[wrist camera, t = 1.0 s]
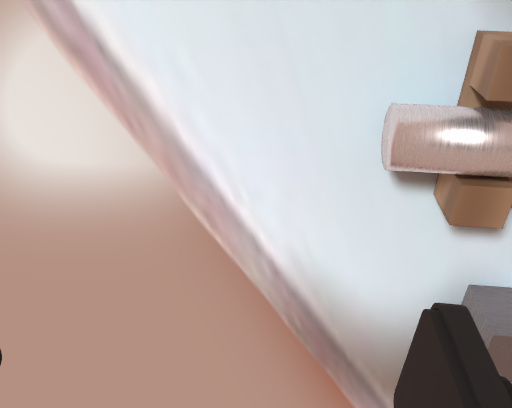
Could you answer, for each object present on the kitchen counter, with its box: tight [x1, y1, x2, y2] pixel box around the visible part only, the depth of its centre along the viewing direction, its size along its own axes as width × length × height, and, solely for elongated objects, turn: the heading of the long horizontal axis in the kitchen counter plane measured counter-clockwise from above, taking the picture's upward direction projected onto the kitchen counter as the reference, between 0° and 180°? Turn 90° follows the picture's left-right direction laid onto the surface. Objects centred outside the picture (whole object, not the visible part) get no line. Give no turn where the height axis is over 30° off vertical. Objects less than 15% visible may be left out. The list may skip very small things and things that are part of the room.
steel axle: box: [381, 103, 512, 177], centre depth 20 cm, size 10×3×3 cm, turn 88°
